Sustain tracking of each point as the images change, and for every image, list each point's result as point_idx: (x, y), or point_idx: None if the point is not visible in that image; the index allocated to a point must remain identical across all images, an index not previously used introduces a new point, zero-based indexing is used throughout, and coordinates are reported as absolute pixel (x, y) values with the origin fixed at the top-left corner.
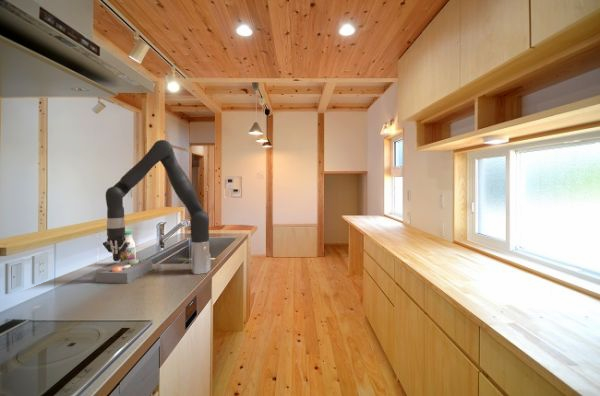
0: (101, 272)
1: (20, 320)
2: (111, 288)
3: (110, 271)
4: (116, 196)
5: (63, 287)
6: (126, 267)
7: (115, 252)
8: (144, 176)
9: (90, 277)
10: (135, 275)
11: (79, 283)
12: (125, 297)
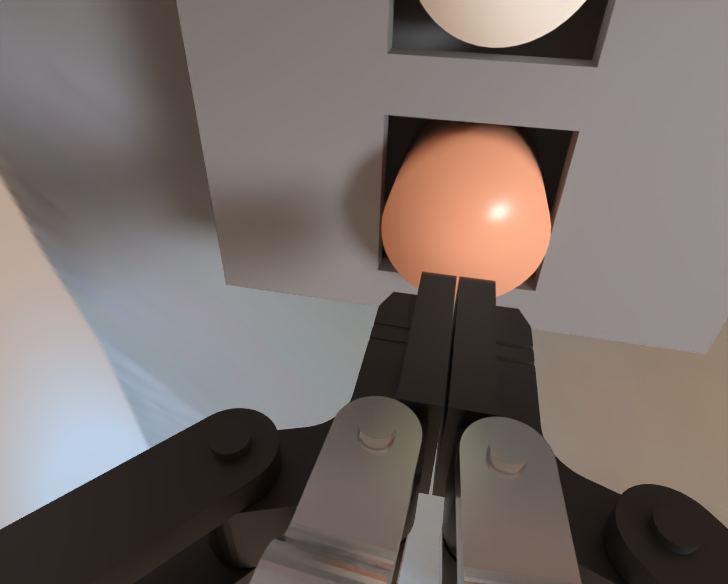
0: (307, 295)
1: None
2: (544, 372)
3: (381, 232)
4: None
5: (120, 313)
6: (560, 24)
7: (446, 552)
8: None
9: (66, 51)
10: None
11: (148, 238)
12: None
